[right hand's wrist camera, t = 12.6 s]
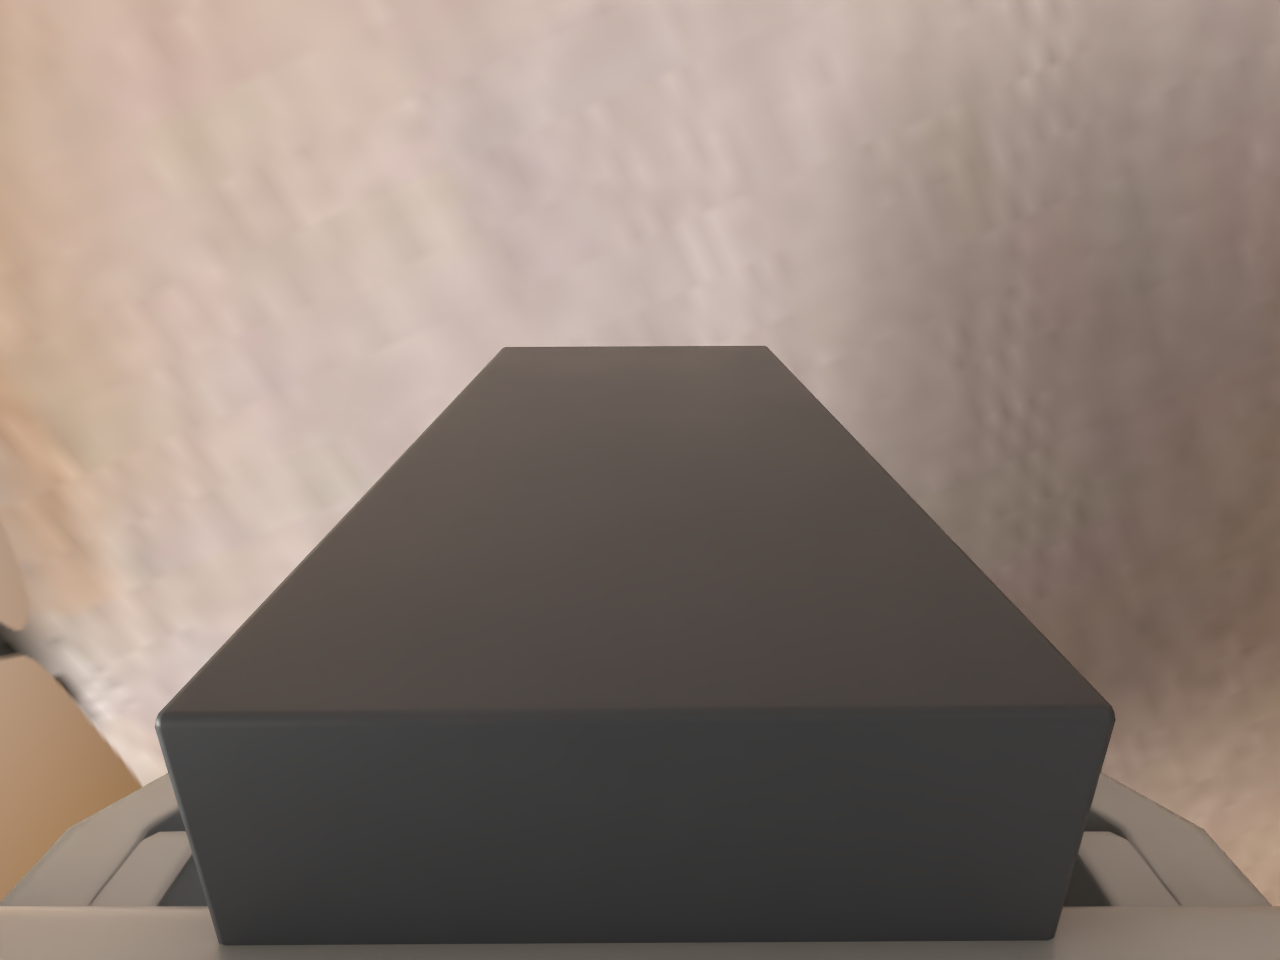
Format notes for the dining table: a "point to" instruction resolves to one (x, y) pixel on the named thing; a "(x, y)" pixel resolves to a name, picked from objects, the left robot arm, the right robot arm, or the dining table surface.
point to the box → (635, 689)
